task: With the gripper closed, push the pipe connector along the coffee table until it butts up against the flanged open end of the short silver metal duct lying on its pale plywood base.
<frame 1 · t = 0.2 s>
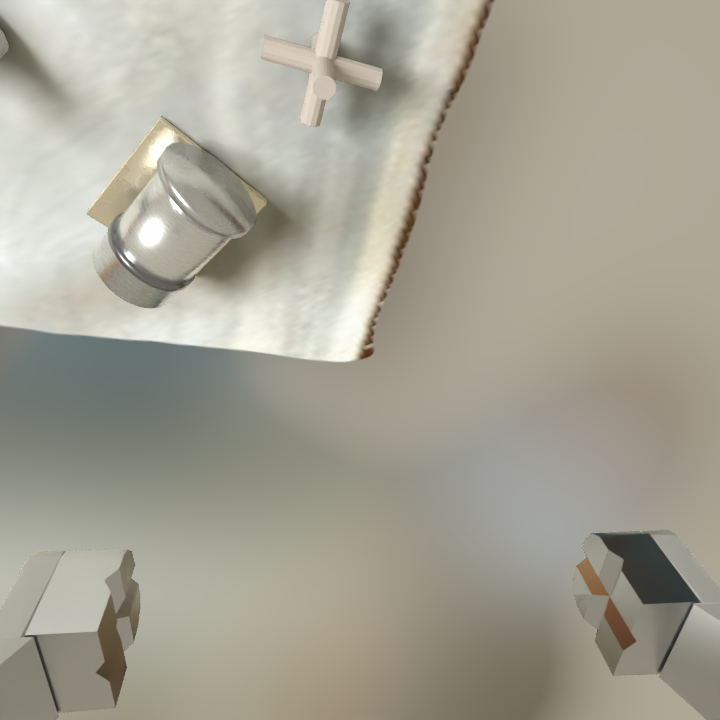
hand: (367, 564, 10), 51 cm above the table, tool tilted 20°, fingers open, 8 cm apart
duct: (178, 204, 62), on the table
pipe connector: (321, 42, 51), on the table
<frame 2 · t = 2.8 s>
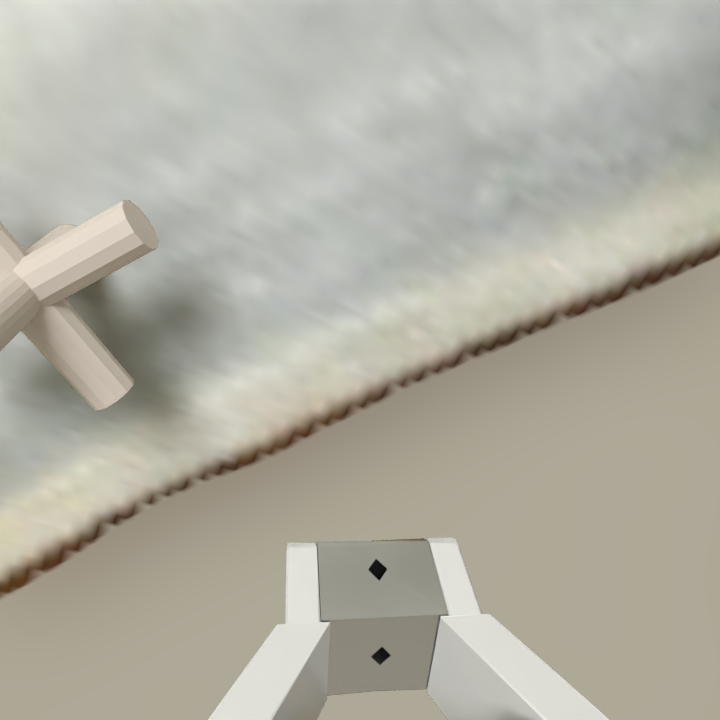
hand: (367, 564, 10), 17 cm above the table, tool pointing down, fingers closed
pipe connector: (72, 244, 24), on the table
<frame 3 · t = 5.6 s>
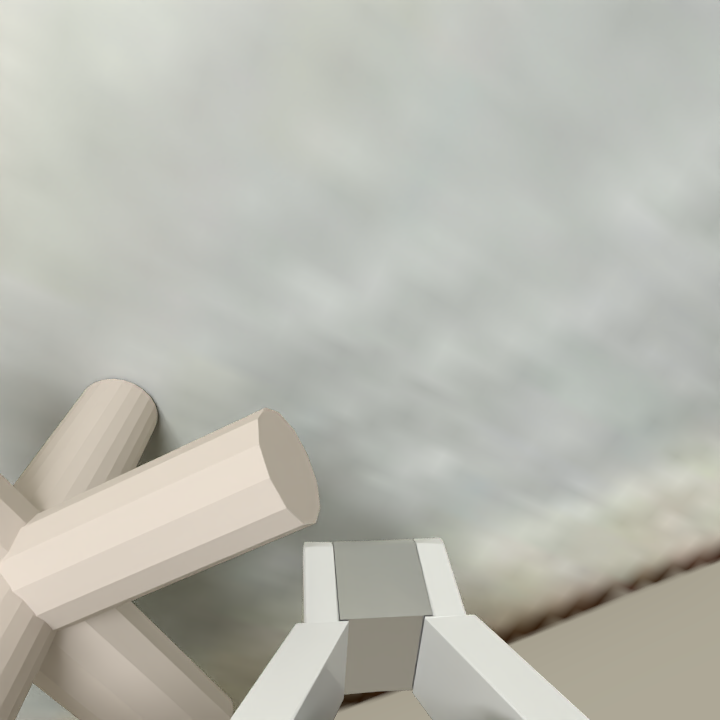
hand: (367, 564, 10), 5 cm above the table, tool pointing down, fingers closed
pipe connector: (121, 407, 14), on the table, touching gripper
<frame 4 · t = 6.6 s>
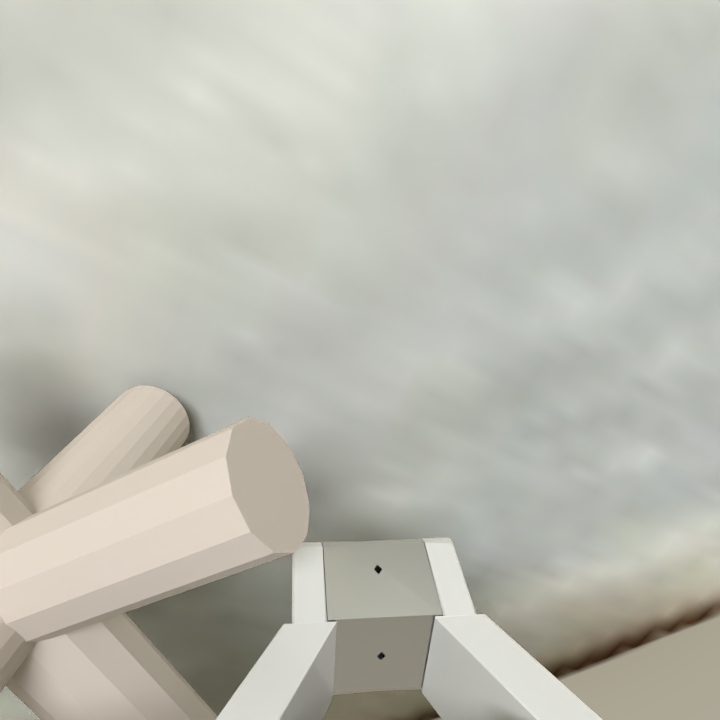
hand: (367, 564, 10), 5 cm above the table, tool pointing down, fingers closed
pipe connector: (156, 415, 14), on the table, touching gripper
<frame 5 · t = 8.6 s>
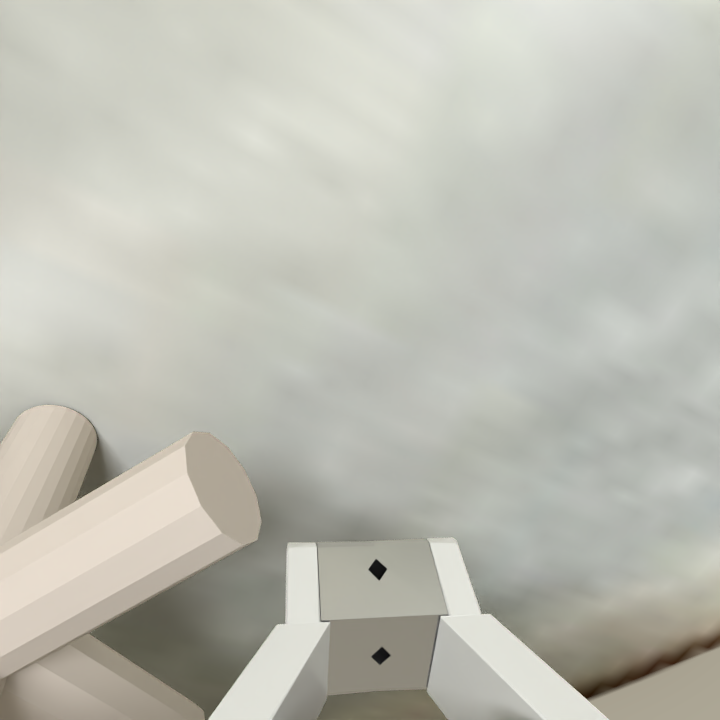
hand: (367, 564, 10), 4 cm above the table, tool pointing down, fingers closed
pipe connector: (57, 432, 13), on the table
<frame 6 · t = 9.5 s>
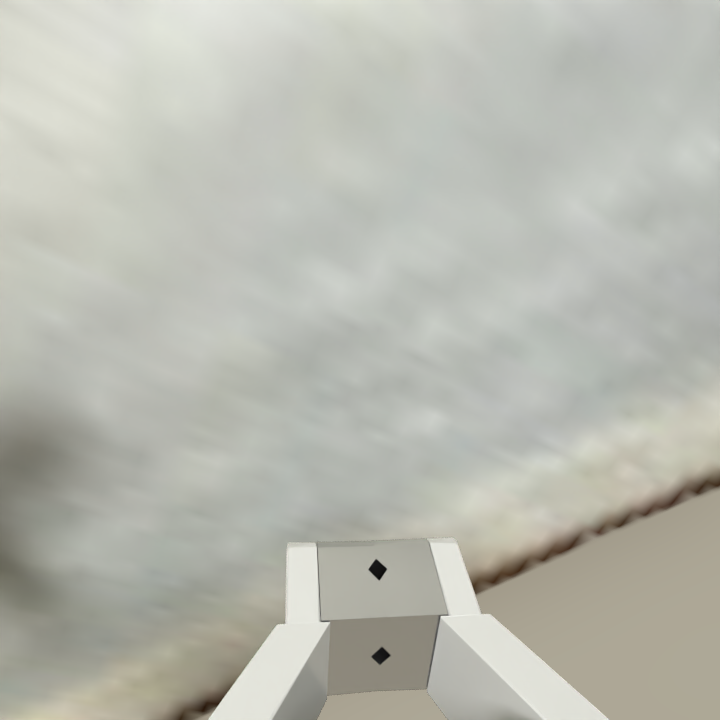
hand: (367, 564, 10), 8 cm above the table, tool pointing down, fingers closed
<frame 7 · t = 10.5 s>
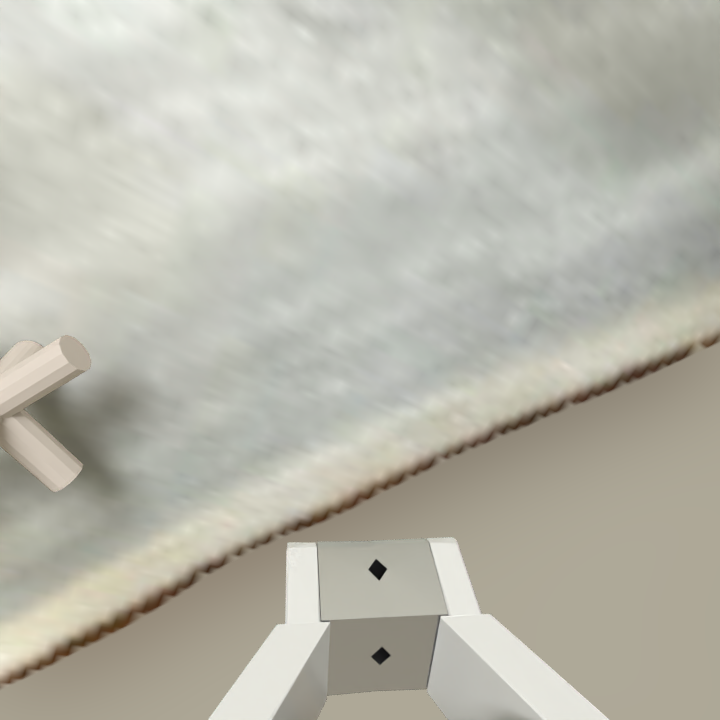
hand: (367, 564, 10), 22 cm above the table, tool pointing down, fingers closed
pipe connector: (31, 354, 30), on the table
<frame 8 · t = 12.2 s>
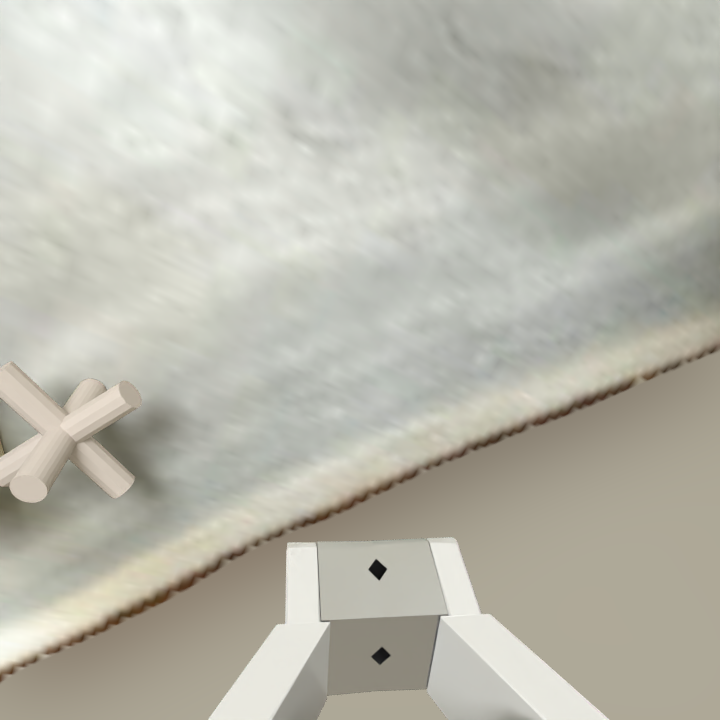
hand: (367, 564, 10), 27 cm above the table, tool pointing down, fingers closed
pipe connector: (93, 388, 38), on the table
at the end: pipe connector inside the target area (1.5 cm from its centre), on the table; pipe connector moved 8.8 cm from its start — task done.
